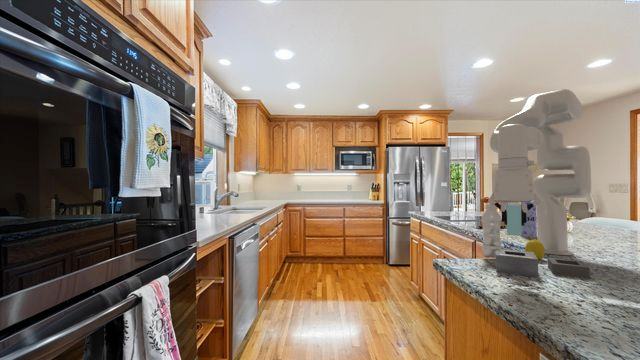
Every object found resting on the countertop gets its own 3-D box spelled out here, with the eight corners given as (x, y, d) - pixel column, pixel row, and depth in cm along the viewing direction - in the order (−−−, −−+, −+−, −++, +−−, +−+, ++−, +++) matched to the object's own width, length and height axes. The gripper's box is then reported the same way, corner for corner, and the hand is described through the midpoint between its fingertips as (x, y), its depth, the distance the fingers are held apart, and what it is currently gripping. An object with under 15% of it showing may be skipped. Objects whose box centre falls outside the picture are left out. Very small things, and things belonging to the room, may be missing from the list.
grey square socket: (547, 270, 87) (547, 257, 88) (582, 274, 83) (581, 261, 83) (552, 277, 81) (552, 263, 81) (590, 282, 76) (589, 267, 77)
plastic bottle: (479, 257, 103) (477, 204, 104) (485, 255, 108) (484, 203, 108) (498, 261, 98) (497, 205, 99) (505, 258, 103) (503, 204, 103)
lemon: (548, 264, 95) (548, 240, 95) (530, 263, 96) (530, 240, 96) (539, 260, 100) (538, 237, 100) (522, 259, 101) (521, 237, 101)
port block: (495, 266, 91) (495, 248, 92) (533, 271, 86) (533, 251, 86) (496, 275, 83) (495, 254, 83) (538, 280, 78) (537, 258, 78)
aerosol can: (521, 236, 148) (520, 199, 149) (517, 234, 155) (516, 198, 156) (539, 237, 145) (538, 199, 146) (534, 235, 152) (533, 198, 153)
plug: (506, 233, 87) (506, 201, 87) (520, 234, 85) (519, 201, 85) (507, 235, 84) (506, 202, 84) (521, 236, 82) (520, 202, 82)
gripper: (544, 165, 84) (546, 225, 84) (482, 167, 93) (482, 222, 92) (549, 162, 78) (550, 228, 77) (481, 165, 87) (482, 224, 86)
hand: (513, 224), depth 85 cm, fingers closed on plug, 3 cm apart
